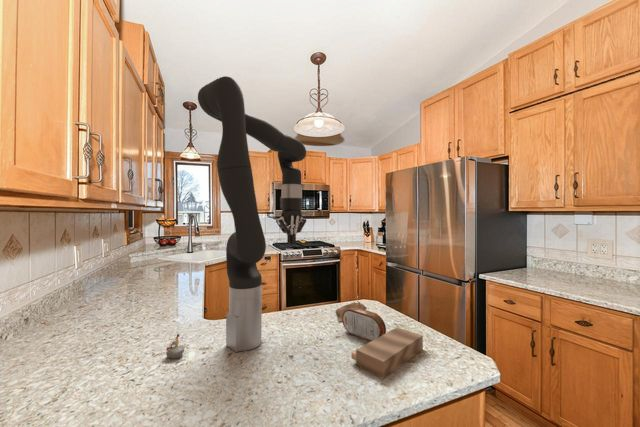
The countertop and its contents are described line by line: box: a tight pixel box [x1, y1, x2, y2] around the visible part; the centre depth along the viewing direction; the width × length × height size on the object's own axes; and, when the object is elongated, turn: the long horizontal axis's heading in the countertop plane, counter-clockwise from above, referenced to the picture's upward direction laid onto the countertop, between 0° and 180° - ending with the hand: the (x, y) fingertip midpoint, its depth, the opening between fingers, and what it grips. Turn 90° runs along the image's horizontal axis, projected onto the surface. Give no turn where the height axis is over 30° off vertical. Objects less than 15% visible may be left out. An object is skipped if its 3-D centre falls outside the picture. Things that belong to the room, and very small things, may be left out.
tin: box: [342, 307, 387, 342], centre depth 86 cm, size 15×3×8 cm, turn 46°
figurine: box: [165, 333, 185, 360], centre depth 74 cm, size 5×4×6 cm
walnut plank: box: [350, 326, 424, 380], centre depth 74 cm, size 20×10×4 cm, turn 134°
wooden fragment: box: [335, 300, 367, 324], centre depth 109 cm, size 26×11×1 cm, turn 155°
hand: (291, 244), depth 101 cm, fingers closed
